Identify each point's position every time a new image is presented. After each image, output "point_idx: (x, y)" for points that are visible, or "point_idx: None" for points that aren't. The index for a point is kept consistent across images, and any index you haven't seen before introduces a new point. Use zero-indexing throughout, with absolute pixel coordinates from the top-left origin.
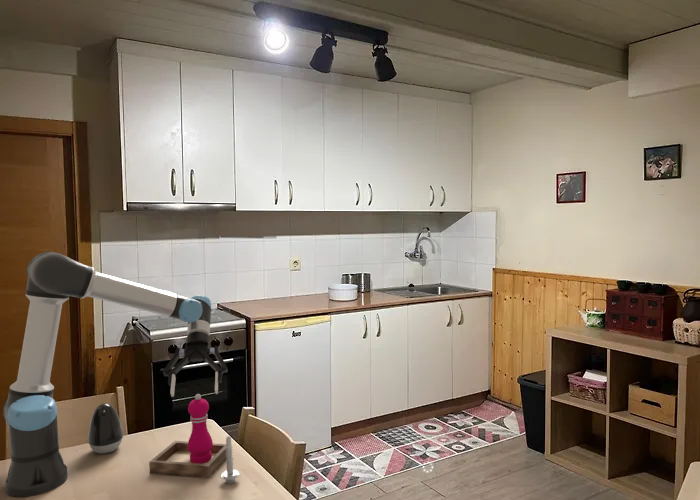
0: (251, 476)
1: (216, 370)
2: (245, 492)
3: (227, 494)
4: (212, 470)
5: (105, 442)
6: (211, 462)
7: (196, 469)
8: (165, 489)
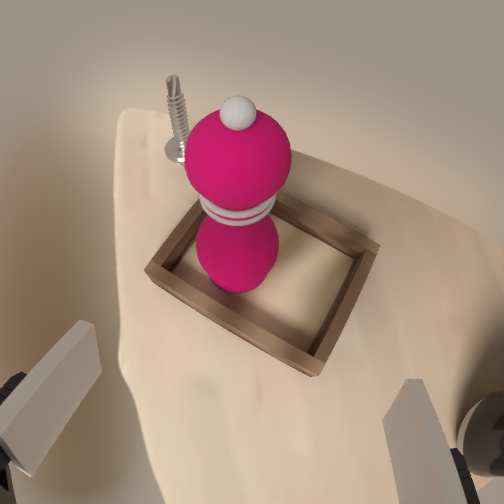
0: (141, 164)
1: (1, 490)
2: None
3: None
4: None
5: (497, 391)
6: None
7: None
8: (322, 176)
